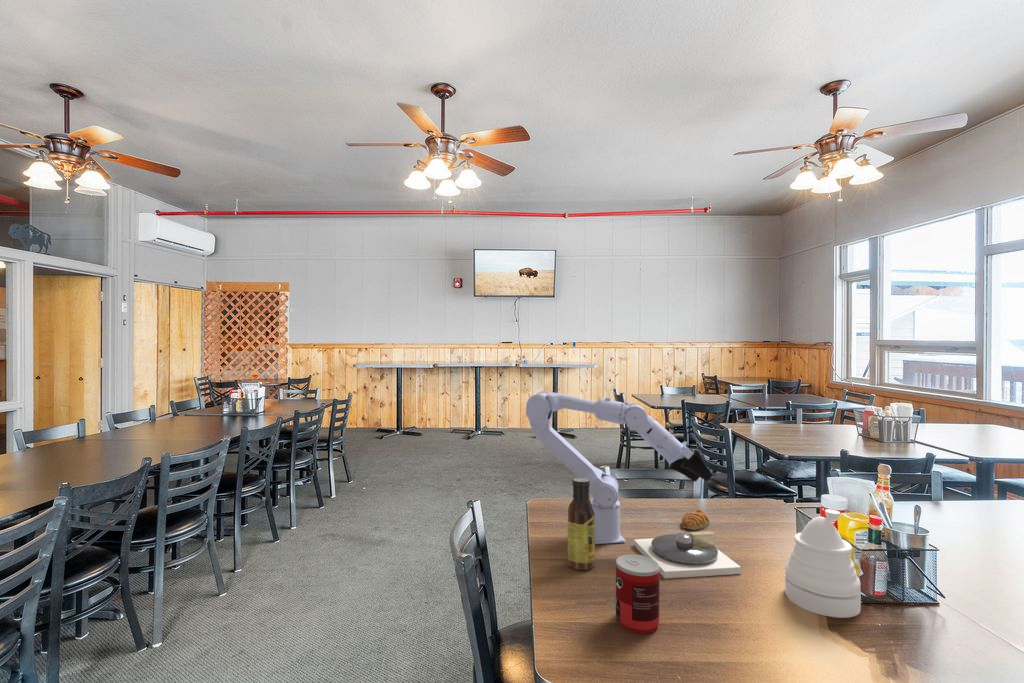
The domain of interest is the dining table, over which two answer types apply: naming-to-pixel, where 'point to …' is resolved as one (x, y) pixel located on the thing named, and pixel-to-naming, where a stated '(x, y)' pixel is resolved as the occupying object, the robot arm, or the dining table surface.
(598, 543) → the robot arm
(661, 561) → the base
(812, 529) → the honey pot
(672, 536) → the handwheel
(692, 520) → the pastry
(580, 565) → the sauce bottle
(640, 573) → the canned food
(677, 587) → the dining table surface
